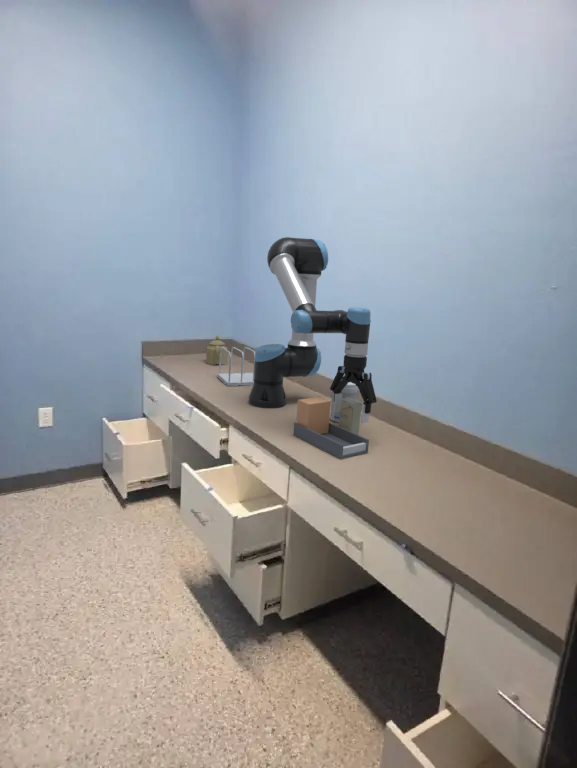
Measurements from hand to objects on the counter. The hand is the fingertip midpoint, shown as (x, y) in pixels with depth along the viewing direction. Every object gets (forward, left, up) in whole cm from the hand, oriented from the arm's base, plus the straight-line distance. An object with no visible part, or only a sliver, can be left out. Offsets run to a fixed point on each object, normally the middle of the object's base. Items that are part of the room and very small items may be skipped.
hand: (350, 417), depth 178 cm
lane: (+4, -12, -6) cm, 14 cm away
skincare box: (0, 0, -7) cm, 7 cm away
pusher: (-5, -12, -5) cm, 14 cm away
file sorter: (-79, +8, -7) cm, 80 cm away
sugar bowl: (-118, +14, -7) cm, 119 cm away
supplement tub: (-13, +9, -7) cm, 17 cm away
